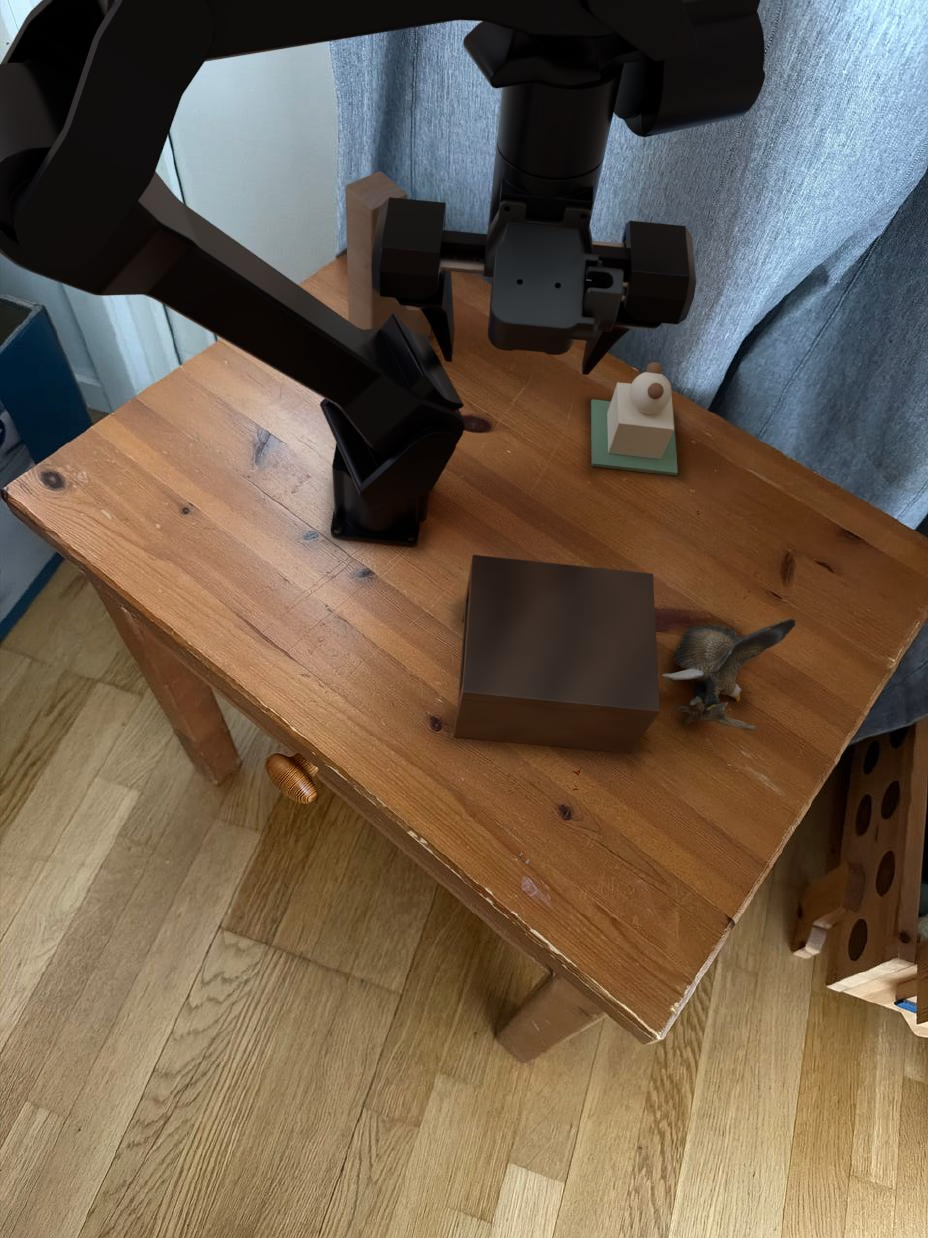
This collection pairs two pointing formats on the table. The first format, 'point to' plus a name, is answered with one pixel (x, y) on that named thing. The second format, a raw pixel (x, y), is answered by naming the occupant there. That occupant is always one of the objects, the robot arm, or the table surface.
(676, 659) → the eagle figurine
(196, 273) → the robot arm
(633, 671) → the dark brown wooden box
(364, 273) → the wooden block
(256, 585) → the table surface
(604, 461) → the coaster
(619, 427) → the cream cube with ball
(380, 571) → the table surface
